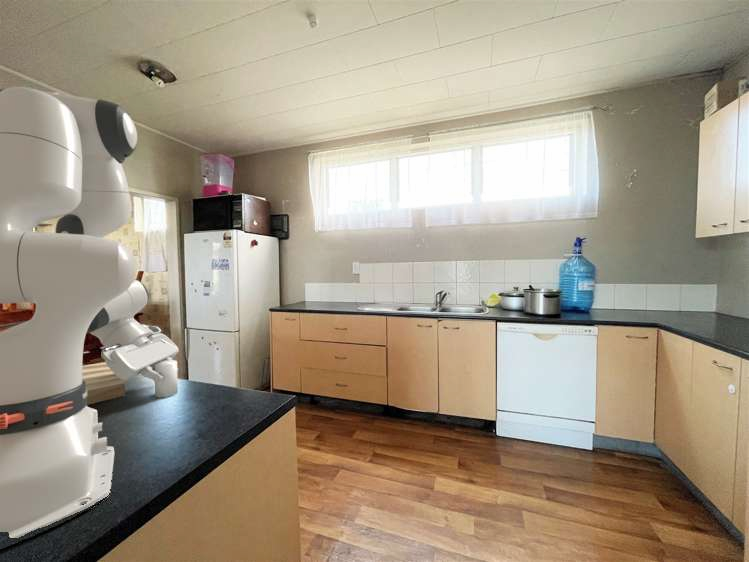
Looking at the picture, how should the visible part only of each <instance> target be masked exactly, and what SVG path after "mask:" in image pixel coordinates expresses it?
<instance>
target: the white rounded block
mask: <svg viewBox="0 0 749 562" xmlns="http://www.w3.org/2000/svg"><path fill="white" fill-rule="evenodd" d="M177 368H178V361H177V360H174V359H173V360H168V361H162V362H158V363H156V364H155V367H154V371H155V372H157V373H160V372H161V373H162V375H164V376H165V378H164V379H163V380H162V381H160V382H159V383H156V382H155V381H154V394H155V395H154V397H155V398H156V397H158V398H157V399H161V398H160V397H166V398H168V397H167V396H171V395H173V396H175V395H174V394H176V393H177V392H179V391H178V389H179V388H178V371H177ZM177 394H178V393H177ZM177 394H176V395H177ZM171 397H172V396H171Z"/></svg>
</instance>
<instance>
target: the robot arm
mask: <svg viewBox="0 0 749 562" xmlns="http://www.w3.org/2000/svg"><path fill="white" fill-rule="evenodd" d="M137 143H138V131H137V128H136V125H135V122H134V121H133V119H132V117H131V115H130V113H129V112H128V111H127V110H126V109H125V108H124V107H123V106H122V105H120V104H118V103H114V102H112V101H108V100H105V99H92V98H89V97H84V96H77V95H72V94H63V93H60V92H57V91H56V92H55V91H42V90H39V89H36V88H31V87H26V86H11V87H7V88H0V304H21V303H30V304H35V311H34V314H33V316H32V317H31V318H30V319H29V320H27V321H24V322H22V323H18V324H17V325H14V326H11V327H9V328H6V329H4V330H2V331H0V532H8V533H9V537H10V538H19V537H21V536H24V535H25V534H27V533H29V532H31V531H34V530H36V529H38V528H42V527H45V526H48V525H50V524H52V523H54V522H56V521H59V520H61V519H63V518H65V517H68V516H70V515H73V514H75V513H77V512H80V511H82V510H84V509H86V508H88V507H90V506H92V505H94V504H95V503H96V502H98V501H100V500H102V499H103V498H105V497H107V496H108V495H109V493H110V494H111V491H110V489H112V482H111V480H112V481H113V473H112V472H114V463H115V448H114V446H109V445H108V436H103V437H100V438H99V432H101V431H103V425H104V424H103V422H102V421H101V422H98V410H97V409H95V408H92V407H89V406H88V405H87V388H86V382H85V381H84V380H82V366H83V357H84V356H83V355H84V347H85V345H84V344H85V339H86V335H87V334H91V335H92V336H95V337H96V338H98V339H99V341H100V343H101V345H102V346H104V348H102V349H101V358H103V360H104V362H106V364H107V366H108V367H109V368H110V369H111V370H112V371H113V373H114V374H115V375H116V376H117V377H118V378H120V379H122V380H127V381H128V380H130V379H132V378H135V377H136V376H138V375H141V376H143V377H144V378H146V379H150V380H152V381H153V382H154V383H155V382H156V383H159V382H160V381H162V380H163V379H164V378H165V376H164V375H162V373H161V372H160V373H157V372H155V370H153V368H155V364H156V363H158V362H162V361H168V360H174V359H173V358H174V357H175V356H176V355H177V354H178V353H179V352H180V350H179V347H178V345H176V343H175V342H173V340H172V339H170V338H169V337H168V336H167V335H166V334H164V333H161V332H162V329H161V328H160V327H159V326H157V325H148V324H147V325H146V324H141V323H140V322H138V321H137V320H136V319H135V318H134V317H135V315H137V314H139V313H140V312H141V311H142V310H143V309H144V308H146V306H147V305H148V303H149V301H150V293H149V290H148V288H147V287H146V286H145V285H144V283H142V282H141V281H140V280H139V279H136V276H137V275H136V274H137V262H136V259H135V256H134V254H133V253H132V252H131V250H130V249H129V248H128V247H127V246H126V245H125V244H124V243H122V242H121V241H119V240H113V239H109V238H106V236H107V235H109V234H111V233H113V232H116V231H117V230H119V229H121V228H122V227H123V226H124V225H126V223H127V222H128V221H129V220H130V219H131V217H132V209H133V206H132V205H133V204H132V198H131V195H130V188H129V184H128V180H127V177H126V173H125V171H124V167H123V165H122V164H123V163H125V160H126V159H127V158H128V157H131V155H132V154H133V153H135V152H134V151H136V149H137ZM59 217H60V218H59ZM56 218H59V219H58V220H57V222H56V226H55V232H45V231H44V232H43V231H41V232H40V231H32V230H34V228H36V227H37V226H38V225H40V224H42V223H44V222H47V221H50V220H53V219H56ZM178 371H179V368H178V367H177V372H178ZM109 496H110V495H109ZM109 496H108V497H109ZM108 497H107V498H108ZM85 503H86V504H85ZM82 504H84V505H82Z"/></svg>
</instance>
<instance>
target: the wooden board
mask: <svg viewBox="0 0 749 562" xmlns="http://www.w3.org/2000/svg"><path fill="white" fill-rule="evenodd" d="M82 380H84V381H85V382H86V388H87V406H88V405H92V404H97V403H100V402H105V401H109V400H113V399H117V397H118V398H121V396H122V397H125V396H126V394H125V393H126V389H125V387H126V385H125V384H126V383H128V380H122V379H120V378H118V377H117V376H116V375H115V374H114V373H113V371H112V370H111V369H110V368H109V367H108V366H107V364H106V362H105V361H104V362H98V363H97V362H96V363H92V364H85V365H82Z"/></svg>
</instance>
